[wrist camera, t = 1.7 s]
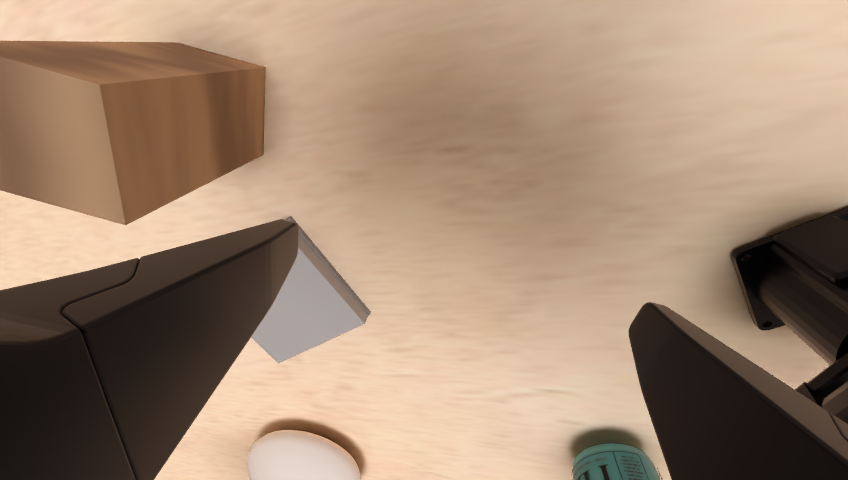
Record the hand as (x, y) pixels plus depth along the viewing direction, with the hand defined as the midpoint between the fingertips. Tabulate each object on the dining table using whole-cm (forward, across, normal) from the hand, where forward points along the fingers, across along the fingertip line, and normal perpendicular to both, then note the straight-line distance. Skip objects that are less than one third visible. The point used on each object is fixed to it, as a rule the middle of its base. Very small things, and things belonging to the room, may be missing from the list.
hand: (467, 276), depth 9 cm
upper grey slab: (+13, +10, +14) cm, 21 cm away
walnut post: (+13, +14, +1) cm, 20 cm away
